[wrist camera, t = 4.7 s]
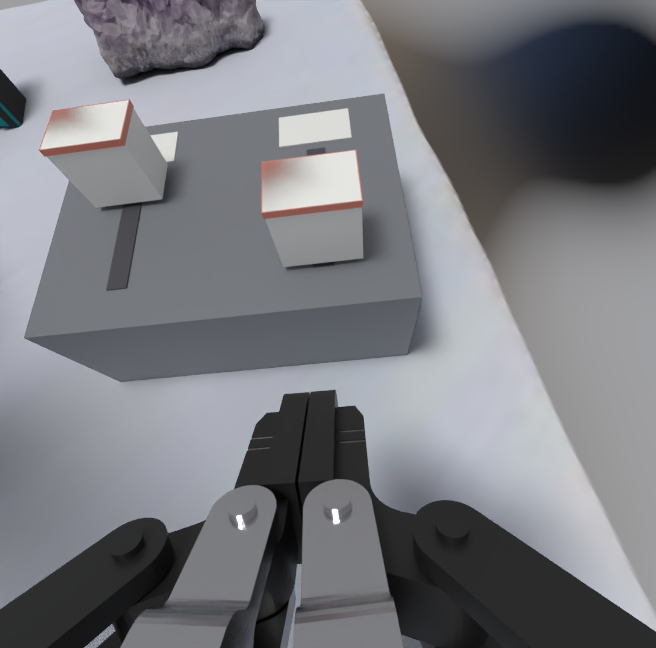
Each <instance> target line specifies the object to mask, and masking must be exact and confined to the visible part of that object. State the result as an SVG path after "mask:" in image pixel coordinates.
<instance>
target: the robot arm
mask: <svg viewBox="0 0 656 648" xmlns="http://www.w3.org/2000/svg"><path fill="white" fill-rule="evenodd" d="M297 564H302V587H301V606H300V607H297V609H296V613H295V623H294V647H293V648H404V647H403V642H402V637H401V634H402V635H405V636H408V637H411V638H414V639H416V640H419V641H420V642H421V645H422V646H423V648H656V632H655V631H654V630H652V629H651V628H650V627H648V626H647V625H645V624H644V623H642V622H641V621H639V620H638V619H636V618H635V617H633V616H632V615H630V614H629V613H627V612H626V611H624V610H623V609H621V608H620V607H618V606H617V605H615V604H614V603H613V602H611V601H610V600H608V599H607V598H605V597H604V596H602V595H601V594H599V593H598V592H596V591H595V590H593V589H592V588H590V587H589V586H587V585H586V584H584V583H583V582H581V581H580V580H578V579H577V578H576V577H574V576H573V575H571V574H570V573H568V572H567V571H565V570H564V569H562V568H561V567H559V566H558V565H556V564H555V563H553V562H552V561H550V560H549V559H547V558H546V557H544V556H543V555H541V554H540V553H539V552H537V551H536V550H534V549H533V548H531V547H530V546H528V545H527V544H525V543H524V542H522V541H521V540H519V539H518V538H516V537H515V536H513V535H512V534H510V533H509V532H507V531H506V530H504V529H503V528H502V527H500V526H499V525H497V524H496V523H494V522H493V521H491V520H490V519H488V518H487V517H485V516H484V515H482V514H481V513H479V512H478V511H476V510H475V509H473V508H471V507H470V506H468V505H465V504H463V503H460V502H456V501H448V500H442V501H435V502H432V503H429V504H427V505H425V506H424V507H422V508H421V509H420V510H419V511H418V512H417V514H416V515H415V514H410V513H405V512H401V511H398V510H395V509H392V508H390V507H388V506H386V505H385V504H383V503H382V502H381V501H379V500H378V498H377V497H376V496H375V495H374V493H373V492H372V489H371V486H370V479H369V469H368V459H367V448H366V438H365V428H364V418H363V415H362V414H361V413H360V411H359V410H358V409H357V408H356V407H355V406H346V407H338V402H337V394H336V390H329V391H317V392H311V393H309V392H306V393H294V394H284V396H283V399H282V403H281V407H280V411H279V412H273V413H266V414H265V416H264V417H263V418H262V419H261V420H260V421H259V422H258V423H257V424H256V426H255V429H254V432H253V435H252V440H251V441H250V444H249V447H248V451H247V453H246V455H245V458H244V461H243V464H242V467H241V470H240V473H239V476H238V479H237V482H236V485H235V488H234V490H231V491H230V492H228V493H226V494H225V495H224V496H222V497H221V498H220V499H219V500H218V501H217V502H216V503H215V504H214V506H213V507H212V509H211V511H210V513H209V515H208V517H207V519H206V520H205V521H203V522H200V523H198V524H195V525H192V526H189V527H186V528H183V529H180V530H177V531H174V532H171V533H168V532H167V529H166V526H165V525H164V524H163V522H161V521H160V520H158V519H155V518H141V519H137V520H133V521H130V522H128V523H126V524H124V525H122V526H120V527H118V528H117V529H115V530H114V531H112V532H111V533H109V534H108V535H106V536H105V537H103V538H102V539H101V540H99V541H98V542H96V543H95V544H93V545H92V546H91V547H89V548H88V549H86V550H85V551H83V552H82V553H81V554H79V555H78V556H76V557H75V558H73V559H72V560H70V561H69V562H68V563H66V564H65V565H63V566H62V567H60V568H59V569H58V570H56V571H55V572H53V573H52V574H50V575H49V576H48V577H46V578H45V579H43V580H42V581H40V582H39V583H37V584H36V585H35V586H33V587H32V588H30V589H29V590H27V591H26V592H25V593H23V594H22V595H20V596H19V597H17V598H16V599H15V600H13V601H12V602H10V603H9V604H7V605H6V606H4V607H3V608H2V609H0V648H84V647H85V646H86V645H88V644H89V643H90V642H91V641H92V640H93V639H95V638H96V637H97V636H98V635H99V634H100V633H101V632H103V631H104V630H105V629H106V628H107V627H108V626H110V625H111V624H113V626H114V628H115V630H116V631H115V632H114V633H113V634H112V635H111V636H109V637H108V638H107V639H106V640H105V641H104V642H103V643H101V644H100V645H99V646H98V647H97V648H287V646H288V641H289V635H290V629H291V624H292V618H293V612H294V607H295V599H296V595H295V589H294V585H295V577H296V568H297Z"/></svg>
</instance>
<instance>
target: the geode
mask: <svg viewBox="0 0 656 648" xmlns="http://www.w3.org/2000/svg"><path fill="white" fill-rule="evenodd" d="M74 1H75V3H76V5H77V6H78V8H79V10H80V11H81V13H82V14H83V15H84V21H85V22H86V24H87V25H88V26H89V27H90V28H91V29H93V31H94V34H95V36H96V39H97V42H98V46H99V48H100V54H101V56H102V57H103V59H104V60H105V62H106V63H107V64H108V66H109V67H110V69H111V71H112V72H113V74H114V76H115V77H117V78H121V77H131V76H133V75H136V74H137V73H139V72H145V71H149V70H151V69H153V68H161V69H175V68H179V67H192V68H196V67H202V66H205V65H206V64H207V63H209V62H210V61H211V60H212V59H214V58H215V56H216V54H218V53H221V52H223V51H226V50H229V49H231V48H233V47H236V48H246V49H253V47H254V46H255V45H256V43H257V42H258V41H259V40H260V39H262V38H263V33H264V25H263V22H262V20H261V17H260V15H259V13H258V11H257V8H256V0H74Z"/></svg>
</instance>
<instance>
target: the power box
mask: <svg viewBox="0 0 656 648" xmlns="http://www.w3.org/2000/svg"><path fill="white" fill-rule="evenodd" d="M145 128H146V129H147V131H148V133H149V134H150V136H151V138H152V139H153V141H154V142H155V144H156V146H157V147H158V149H159V151H160V152H161V154H162V156H163V157H164V159H165V160H166V162H167V164H168V166H167V173H166V179H165V186H164V193H163V199H161V200H153V201H145V202H137V203H129V204H122V205H114V206H106V207H98V208H95V206H94V205H93V204H92V203H91V202H90V201H89V200H88V199H87V198H86V197H85V196H84V195H83V194H82V193H81V192H80V191H79V190H78V189H77V188H76V187H75V186H74V185H73V184H72V182H71V181H70V180H69V183H68V187H67V190H66V193H65V197H64V200H63V204H62V207H61V211H60V214H59V218H58V221H57V225H56V228H55V232H54V235H53V239H52V242H51V246H50V249H49V253H48V256H47V260H46V263H45V267H44V270H43V274H42V277H41V281H40V284H39V287H38V291H37V294H36V298H35V301H34V305H33V308H32V312H31V315H30V319H29V322H28V326H27V329H26V333H25V336H24V338H25V339H27V340H29V341H31V342H34V343H36V344H38V345H40V346H43V347H45V348H47V349H49V350H51V351H54V352H56V353H58V354H60V355H62V356H65V357H67V358H69V359H71V360H73V361H76V362H78V363H80V364H82V365H84V366H87V367H89V368H91V369H93V370H96V371H98V372H100V373H102V374H104V375H107V376H109V377H111V378H113V379H115V380H118V381H120V382H121V381H132V380H143V379H153V378H164V377H175V376H186V375H196V374H207V373H218V372H228V371H239V370H250V369H260V368H271V367H282V366H292V365H303V364H314V363H325V362H335V361H346V360H357V359H367V358H378V357H389V356H399V355H407V354H408V350H409V347H410V343H411V339H412V335H413V331H414V327H415V324H416V320H417V316H418V312H419V308H420V304H421V300H422V292H421V287H420V281H419V276H418V271H417V265H416V260H415V255H414V250H413V244H412V239H411V234H410V228H409V223H408V218H407V212H406V207H405V202H404V196H403V191H402V186H401V180H400V175H399V170H398V164H397V159H396V154H395V148H394V143H393V138H392V133H391V127H390V122H389V117H388V111H387V106H386V101H385V95H384V94H378V95H371V96H363V97H356V98H349V99H342V100H335V101H328V102H320V103H313V104H306V105H299V106H292V107H285V108H277V109H270V110H263V111H256V112H249V113H242V114H234V115H227V116H220V117H213V118H206V119H198V120H191V121H184V122H177V123H170V124H163V125H155V126H148V127H145ZM355 149H356V151H357V159H358V167H359V174H360V182H361V190H362V198H363V207H362V227H363V258H362V259H353V260H344V261H335V262H326V263H317V264H308V265H299V266H290V267H283V265H282V262H281V260H280V257H279V254H278V252H277V249H276V247H275V244H274V241H273V239H272V236H271V234H270V231H269V228H268V226H267V223H266V221H265V219H263V217H262V214H261V182H262V162H263V161H271V160H279V159H286V158H294V157H302V156H309V155H317V154H325V153H332V152H340V151H348V150H355Z"/></svg>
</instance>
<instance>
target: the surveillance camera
mask: <svg viewBox="0 0 656 648" xmlns="http://www.w3.org/2000/svg"><path fill="white" fill-rule="evenodd" d="M25 103H26V98H25V97H24V96H23V95H22V93H21V92H20V91H19V90H18V89H17V88H16V86H15V85H14V84H13V83H12V82H11V81H10V80H9V78H8V77H7V76H6V75H5V74H4V73H3V71H2V70H1V69H0V126H11V127H15V126H20V125H22V123H23V118H24V111H25Z"/></svg>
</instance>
